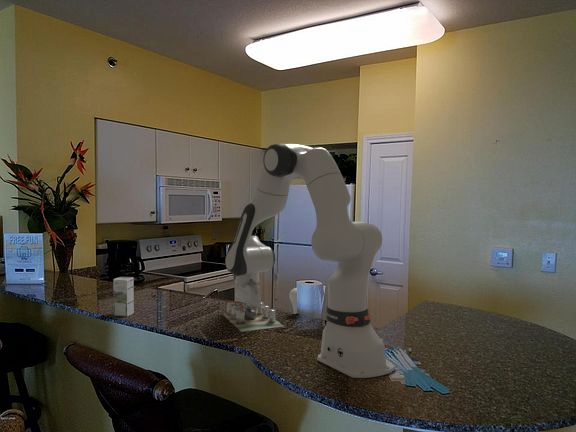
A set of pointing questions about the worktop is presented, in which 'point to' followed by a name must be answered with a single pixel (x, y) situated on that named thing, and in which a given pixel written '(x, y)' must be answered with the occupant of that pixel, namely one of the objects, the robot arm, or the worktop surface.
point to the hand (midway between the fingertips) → (247, 313)
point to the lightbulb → (294, 299)
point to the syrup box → (123, 296)
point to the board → (254, 323)
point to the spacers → (261, 310)
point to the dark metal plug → (250, 314)
